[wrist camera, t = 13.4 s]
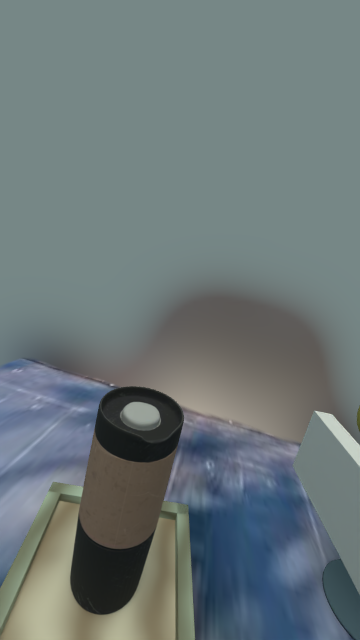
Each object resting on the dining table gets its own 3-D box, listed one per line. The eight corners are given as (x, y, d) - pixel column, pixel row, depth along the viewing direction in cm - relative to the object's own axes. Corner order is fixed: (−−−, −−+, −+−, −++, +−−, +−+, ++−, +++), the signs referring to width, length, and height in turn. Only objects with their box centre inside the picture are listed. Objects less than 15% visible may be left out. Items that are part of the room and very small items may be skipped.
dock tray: (182, 523, 41) (187, 505, 40) (188, 731, 24) (198, 706, 23) (50, 501, 40) (53, 481, 39) (-46, 705, 22) (-44, 677, 22)
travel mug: (95, 526, 36) (125, 377, 31) (153, 558, 34) (195, 404, 29) (49, 592, 29) (78, 411, 24) (118, 637, 27) (167, 451, 22)
